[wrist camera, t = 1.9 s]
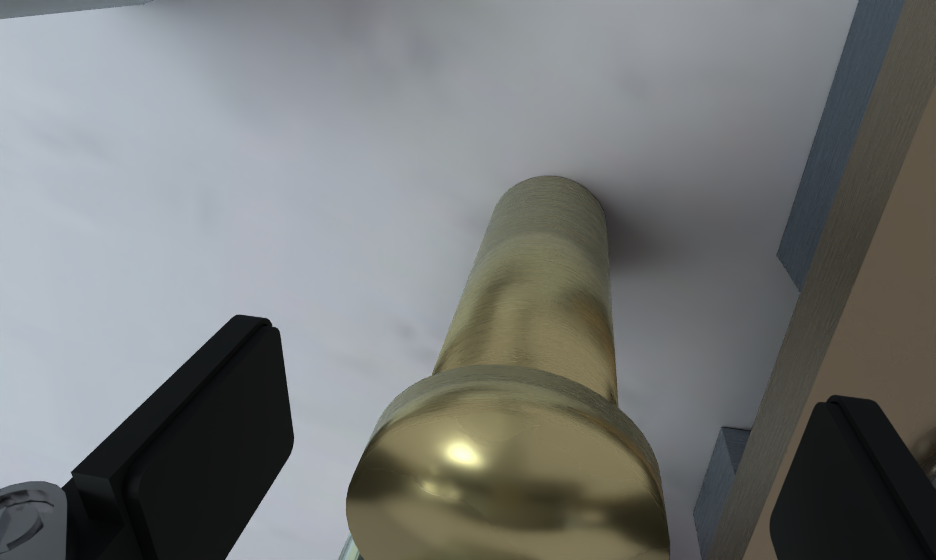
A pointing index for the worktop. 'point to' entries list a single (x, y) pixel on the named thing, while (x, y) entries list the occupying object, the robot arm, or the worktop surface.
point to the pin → (518, 411)
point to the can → (57, 6)
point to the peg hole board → (848, 276)
